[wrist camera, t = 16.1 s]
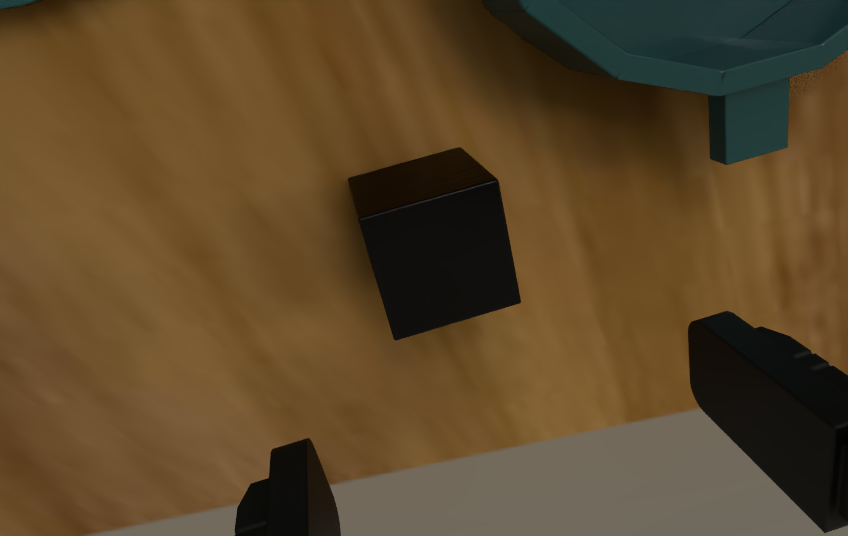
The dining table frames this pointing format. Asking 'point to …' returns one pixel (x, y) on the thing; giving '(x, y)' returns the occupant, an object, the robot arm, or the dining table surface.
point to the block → (436, 241)
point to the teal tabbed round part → (695, 53)
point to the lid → (16, 3)
